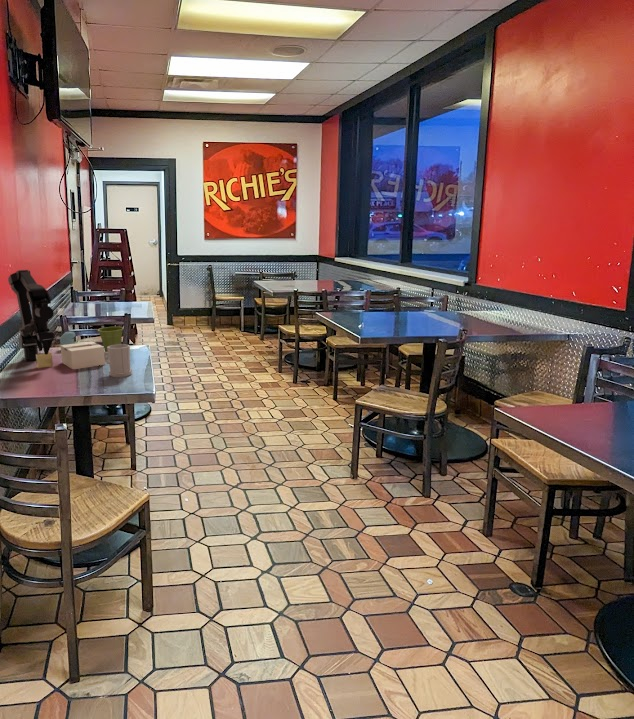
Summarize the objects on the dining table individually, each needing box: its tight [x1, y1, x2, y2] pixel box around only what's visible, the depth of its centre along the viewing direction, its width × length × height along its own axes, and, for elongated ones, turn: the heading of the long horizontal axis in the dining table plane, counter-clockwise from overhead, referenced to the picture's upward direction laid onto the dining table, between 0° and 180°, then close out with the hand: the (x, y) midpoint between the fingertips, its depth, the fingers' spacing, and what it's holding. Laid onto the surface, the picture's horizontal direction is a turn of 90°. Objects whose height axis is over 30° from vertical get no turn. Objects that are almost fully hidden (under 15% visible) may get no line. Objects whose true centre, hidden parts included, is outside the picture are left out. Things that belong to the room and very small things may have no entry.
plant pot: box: [97, 326, 124, 353], centre depth 306 cm, size 12×12×11 cm
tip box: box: [59, 341, 106, 370], centre depth 282 cm, size 16×14×8 cm
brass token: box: [35, 351, 54, 369], centre depth 278 cm, size 2×6×6 cm, turn 127°
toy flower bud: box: [59, 331, 79, 345], centre depth 314 cm, size 7×9×12 cm
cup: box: [104, 343, 133, 378], centre depth 261 cm, size 10×9×12 cm
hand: (43, 352), depth 277 cm, fingers open, 9 cm apart
